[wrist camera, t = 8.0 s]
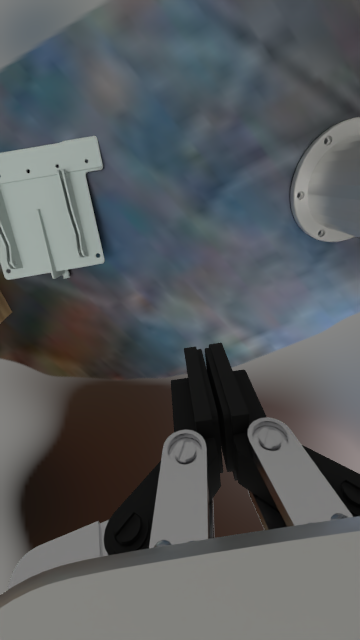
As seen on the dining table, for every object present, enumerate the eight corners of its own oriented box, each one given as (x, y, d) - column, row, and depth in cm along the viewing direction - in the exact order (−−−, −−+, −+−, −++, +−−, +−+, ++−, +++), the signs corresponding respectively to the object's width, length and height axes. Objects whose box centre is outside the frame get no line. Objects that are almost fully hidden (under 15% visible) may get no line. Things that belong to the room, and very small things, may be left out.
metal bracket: (121, 267, 28) (-22, 292, 28) (129, 267, 34) (11, 287, 33) (88, 113, 25) (-72, 140, 25) (103, 141, 31) (-27, 163, 30)
